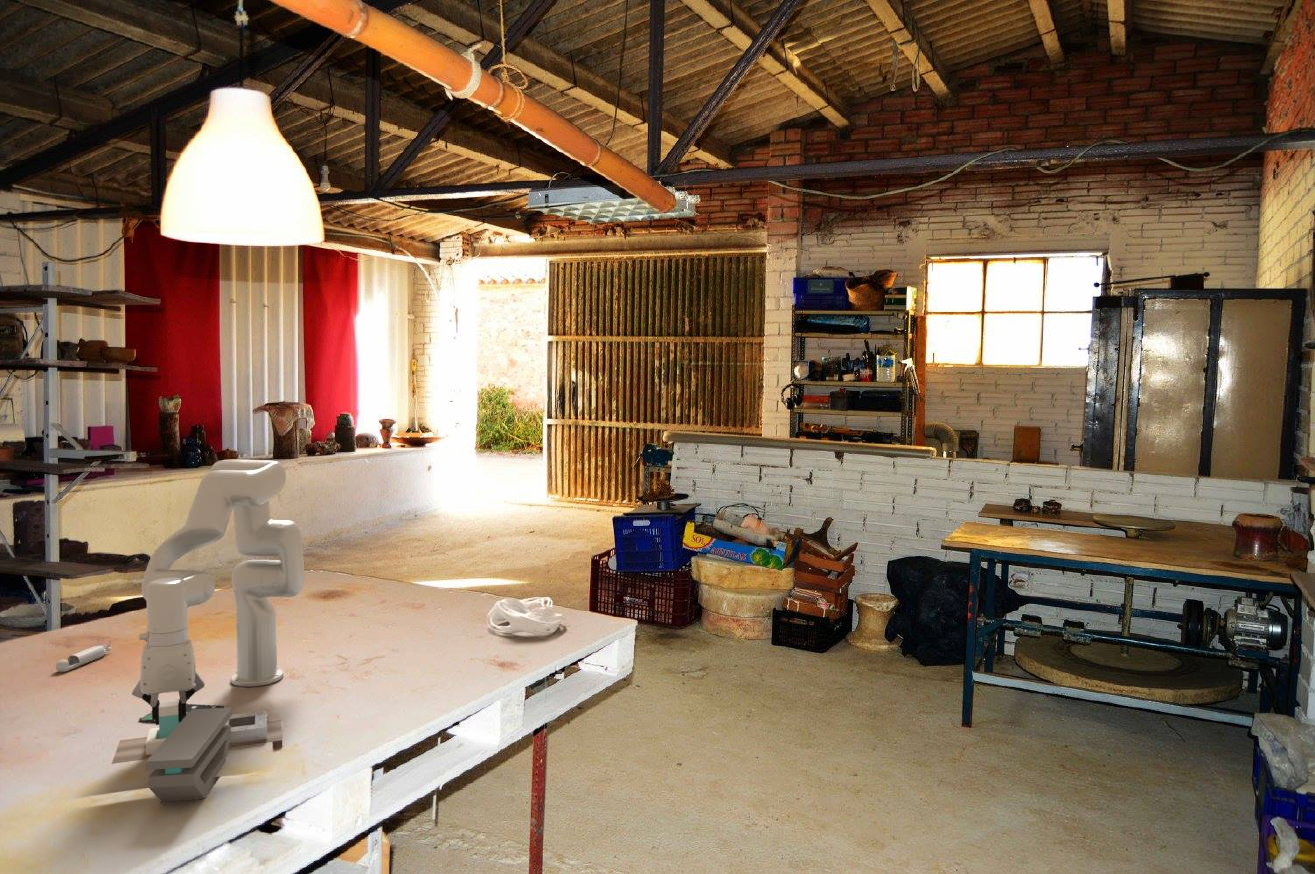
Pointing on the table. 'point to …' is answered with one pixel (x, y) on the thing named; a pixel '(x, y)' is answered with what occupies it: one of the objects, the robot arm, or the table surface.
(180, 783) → the grey slotted long block
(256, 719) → the port
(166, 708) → the plug
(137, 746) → the board
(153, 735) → the cream square frame
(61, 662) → the torpedo
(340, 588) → the table surface
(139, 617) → the table surface
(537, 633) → the coil
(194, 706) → the disk drive
